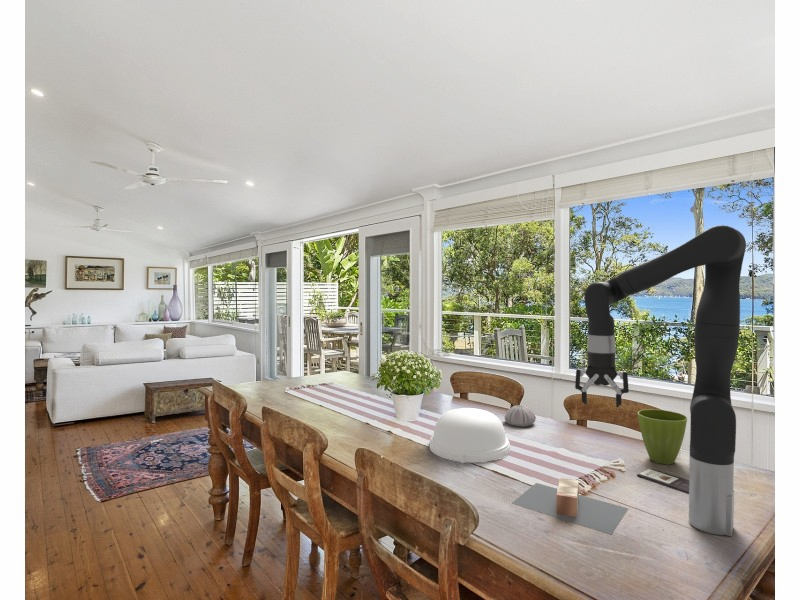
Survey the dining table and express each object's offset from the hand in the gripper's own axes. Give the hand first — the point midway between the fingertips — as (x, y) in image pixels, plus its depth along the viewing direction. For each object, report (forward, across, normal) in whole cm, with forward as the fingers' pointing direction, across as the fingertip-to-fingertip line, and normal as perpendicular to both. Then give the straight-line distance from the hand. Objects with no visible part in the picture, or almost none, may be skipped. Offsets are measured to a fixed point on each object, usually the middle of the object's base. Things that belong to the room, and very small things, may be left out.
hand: (601, 405), depth 135 cm
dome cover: (+26, -46, +22) cm, 57 cm away
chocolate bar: (+26, +21, +16) cm, 37 cm away
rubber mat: (+26, -8, -14) cm, 30 cm away
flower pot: (+26, +19, +35) cm, 48 cm away
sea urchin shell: (+26, -33, +60) cm, 73 cm away
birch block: (+23, -8, -8) cm, 25 cm away
